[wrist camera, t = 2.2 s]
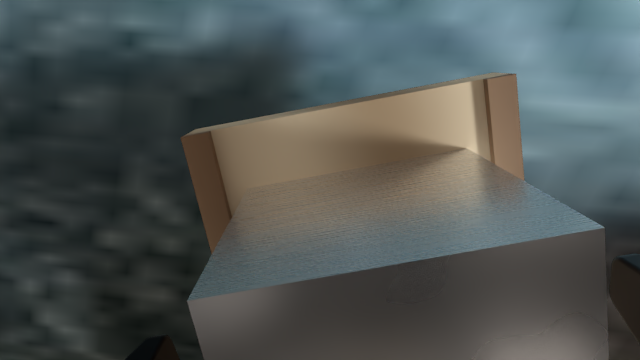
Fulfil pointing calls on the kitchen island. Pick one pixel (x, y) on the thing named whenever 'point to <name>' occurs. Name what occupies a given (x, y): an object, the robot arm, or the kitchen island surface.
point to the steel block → (405, 269)
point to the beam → (352, 139)
